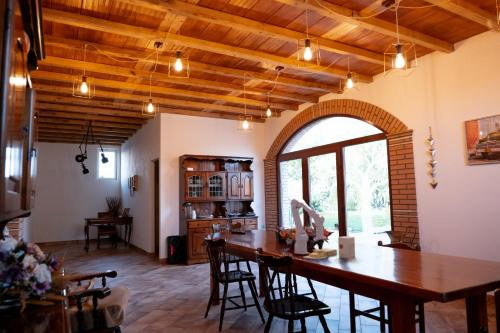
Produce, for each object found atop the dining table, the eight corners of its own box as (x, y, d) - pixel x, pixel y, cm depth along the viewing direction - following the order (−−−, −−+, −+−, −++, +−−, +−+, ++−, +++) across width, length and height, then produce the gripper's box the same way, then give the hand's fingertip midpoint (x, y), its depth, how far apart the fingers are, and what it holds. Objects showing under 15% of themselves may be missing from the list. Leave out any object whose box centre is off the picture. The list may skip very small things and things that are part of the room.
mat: (303, 257, 269) (302, 257, 269) (312, 255, 278) (312, 254, 278) (318, 259, 259) (318, 258, 259) (328, 256, 268) (328, 256, 268)
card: (313, 252, 274) (313, 255, 274) (309, 253, 270) (309, 256, 270) (323, 254, 268) (323, 256, 268) (319, 255, 264) (319, 257, 264)
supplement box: (338, 257, 265) (337, 237, 266) (345, 256, 271) (344, 236, 272) (349, 259, 258) (348, 238, 259) (355, 257, 264) (354, 236, 265)
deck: (313, 255, 278) (313, 249, 279) (321, 253, 287) (321, 248, 287) (328, 256, 269) (328, 251, 269) (337, 254, 277) (336, 249, 277)
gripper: (318, 232, 267) (319, 251, 266) (329, 231, 277) (329, 248, 276) (311, 232, 272) (311, 250, 271) (321, 230, 282) (322, 248, 281)
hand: (320, 249), depth 274 cm, fingers closed
